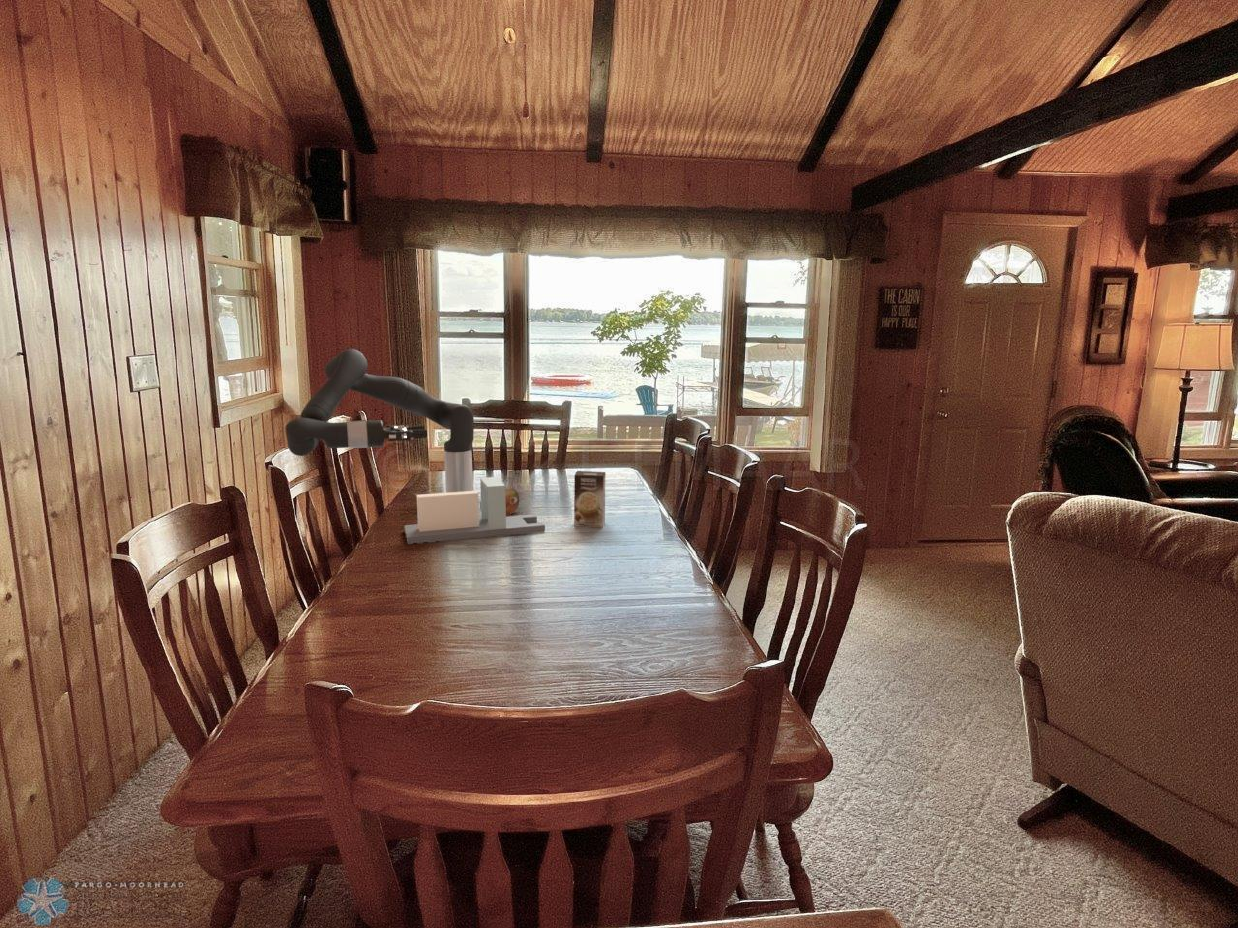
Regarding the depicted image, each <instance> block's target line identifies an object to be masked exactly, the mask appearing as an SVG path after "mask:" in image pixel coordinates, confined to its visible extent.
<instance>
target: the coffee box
mask: <svg viewBox="0 0 1238 928" xmlns="http://www.w3.org/2000/svg"><path fill="white" fill-rule="evenodd" d="M573 494H574V497H573V498H574V501H573V503H574V505H573V506H574V507H573V513H574V514H573V526H574V527H584V528H585V527H586V528H588V527H590V528H603V527H604V525H605V521H606V520H605V519H606V471H591V470H590V471H588V470H577V471H576V472H575V473H574V492H573Z"/></svg>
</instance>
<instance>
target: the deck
mask: <svg viewBox="0 0 1238 928" xmlns="http://www.w3.org/2000/svg"><path fill="white" fill-rule="evenodd" d="M537 519H538V516H537V515H536V514H535V513H534V514H524V515H523V514H522V515H511V516H509V515H508V516H506V528H505V529H494V530H489V529H488V519H486V520H482V519H481V518H479V526H478V527H467V528H456V529H444V530H433V531H422V532H419V530H418V523H415V524H406V525H404V526H403V527H404V533H405V534H406V535H405V539H406V538H407V539H406V543H407V545H413V543H417V544H424V543H423V542H428V543H435V542H436V541H439V542H447V541H449V540H450V541H458V540H468V539H481V538H491V537H501V536H511V535H524V534H533V533H543V532H544V531H545V532H546V525H545V524H544V522H538V520H537ZM436 543H437V542H436Z"/></svg>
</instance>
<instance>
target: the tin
mask: <svg viewBox="0 0 1238 928" xmlns="http://www.w3.org/2000/svg"><path fill="white" fill-rule="evenodd" d="M505 503H506V516H509V515H512V514H514V513H515V512H516V511H517V509H518V508H519V505H520V496H519V492H517V490H515V489H514V488H508V487H507V488H506V487H505ZM479 507H480V510H481V501H480V503H479Z"/></svg>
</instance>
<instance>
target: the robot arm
mask: <svg viewBox="0 0 1238 928" xmlns="http://www.w3.org/2000/svg"><path fill="white" fill-rule="evenodd" d="M368 367H369V365H368V360H367V357H366V356H365V355H364V354H363V353H362V352H361V351H359V350H357V349H355V348H347V349H345V350H343V351H341V352H340V353H338V354H337V355H335V356H334V357H333V358H332V359H330V360H329V361H328V362H327V364H326V365H325V368H324V372H325V375H326V377H327V378H328V380H327V381H326V382H325V383H323V385H322V386H321V387H320V388H319V389H318V390H317V391H316V392H315V393H314V395H313V396H312V397H311V398H310V399H309V401H308V402H307V404H305V406H304V408H302V411H301V414H300V417H297V418H293V419H291V420H290V421H288V423H286V425H285V430H284V431H285V435H286V436H285V437H286V442H287V446H288V450H289V451H290V452H291V453H292V454H293V455H295V456H298V457H304V456H308V455H310V454H311V453H313V451H314V450H316V448H317V446H318V444H319V442H320V440H322V441H324V444H325V445H326V446H327V448H329V449H343V448H344V449H346V448H347V449H348V448H350V449H352V448H353V449H362V448H363V449H365V448H367V449H368V448H383V447H384V446H385V440H388V441H389V442H398V441H399V442H401V441H403V442H404V441H412V440H414V439H426V438H428V430H427V429H425V426H424V425H408V424H397V425H396V424H391V425H388V424H387V425H385V427H384V422H383V420H381V419H375V420H374V419H369V420H368V419H367V420H355V421H354V420H353V421H343V422H342V421H341V422H329V420H330V419H331V417H332V415H333V414H334V412H335V411H336V409H337V407H339V404H340V403H341V402H342V400H343V399H344V397H345V396H346V395H347V393H348V392H349V391H354V392H356V393H360V394H363V395H366V396H368V397H372V398H374V399H376V400H379V401H381V402H384V403H387V404H389V405H391V406H393V407H395V408H398V409H400V410H402V411H405V412H408V413H411V414H414V415H418V416H422V417H424V418H426V419H428V420H430V421H432V422H434V423H436V424H437V425H439V426H441V427H443V428H444V429H447V430H449V433H450V435H449V439H448V440H447V441H445V442H444V443H443V450H444V451H443V454H444V456H443V457H444V481H445V493H450V492H464V491H474V490H473V460H472V458H473V456H472V445H473V443H474V431H475V430H474V429H475V428H474V426H475V425H474V420H475V419H474V413H473V411H472V408H470V406H468V405H466V404H461V403H454V402H449V401H446V400H445V401H444V400H441V399H438V398H437V397H434V396H432V395H430V394H429V393H428V392H427V391H426V390H425V389H424V388H422V387H421V386H420V385H418V384H415V383H413V382H412V381H410V380H407V379H404V378H401V377H398V376H397V377H396V376H387V375H373V374H370V373H369V374H368V373H367V371H368Z"/></svg>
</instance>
